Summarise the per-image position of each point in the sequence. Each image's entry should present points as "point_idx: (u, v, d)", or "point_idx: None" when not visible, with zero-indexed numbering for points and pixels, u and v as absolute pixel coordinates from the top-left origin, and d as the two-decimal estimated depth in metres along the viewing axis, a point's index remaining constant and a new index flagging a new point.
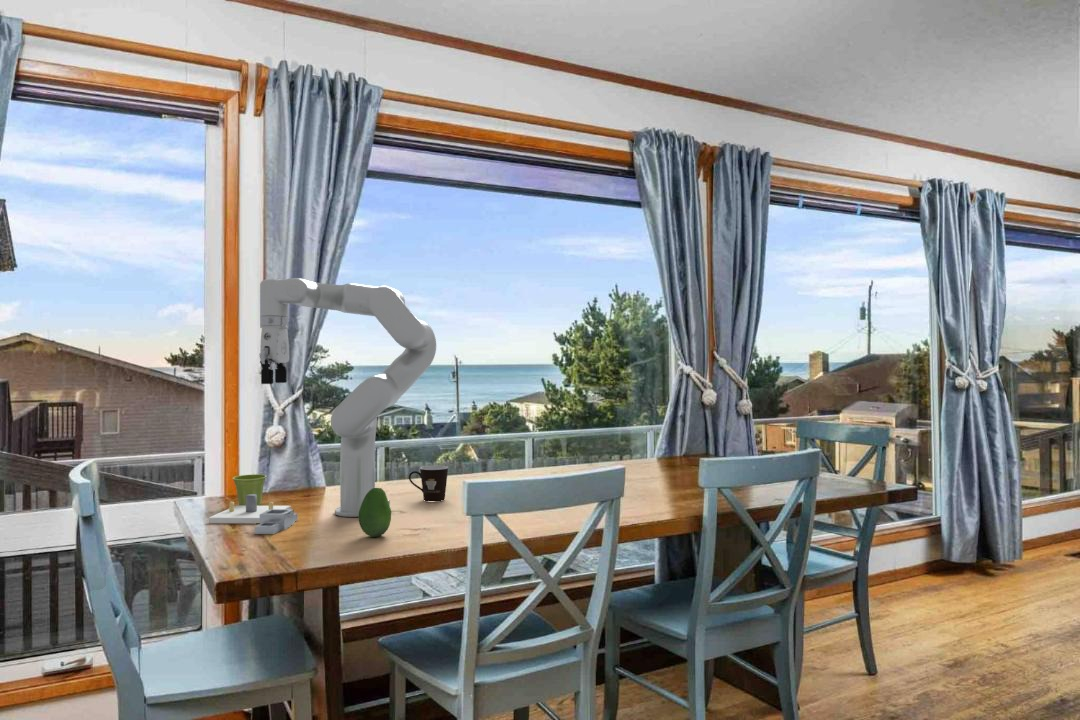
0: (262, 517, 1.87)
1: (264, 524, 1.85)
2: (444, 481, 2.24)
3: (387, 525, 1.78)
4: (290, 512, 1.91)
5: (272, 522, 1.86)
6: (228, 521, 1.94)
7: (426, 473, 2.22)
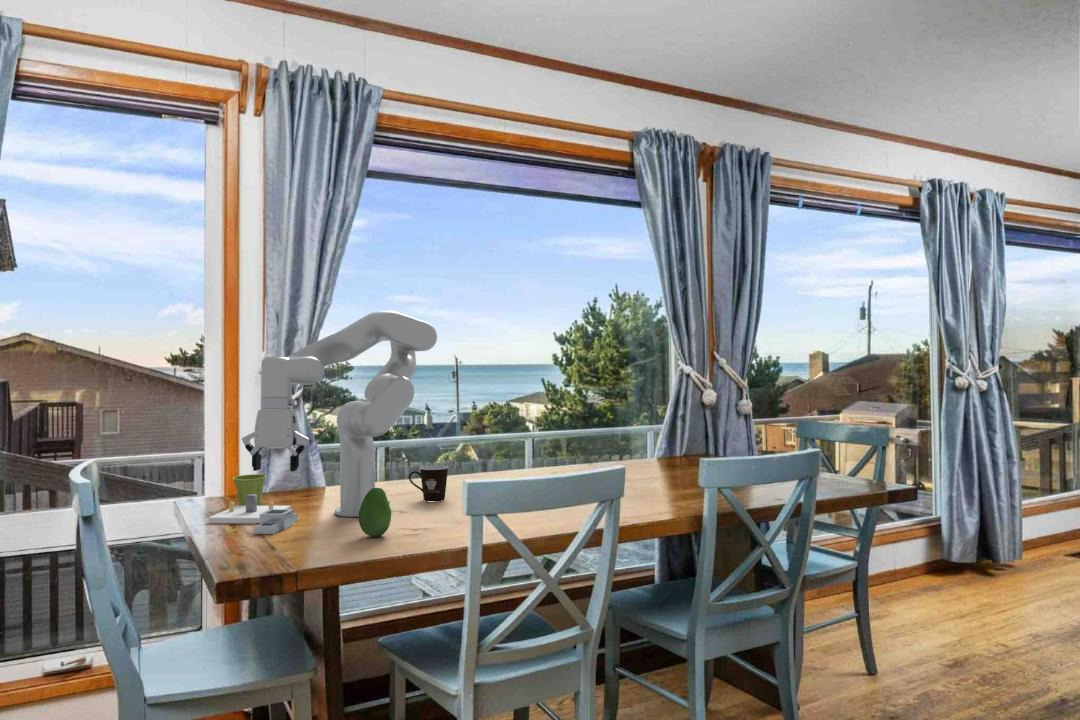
0: (262, 517, 1.87)
1: (264, 524, 1.85)
2: (444, 481, 2.24)
3: (387, 525, 1.78)
4: (290, 512, 1.91)
5: (272, 522, 1.86)
6: (228, 521, 1.94)
7: (426, 473, 2.22)
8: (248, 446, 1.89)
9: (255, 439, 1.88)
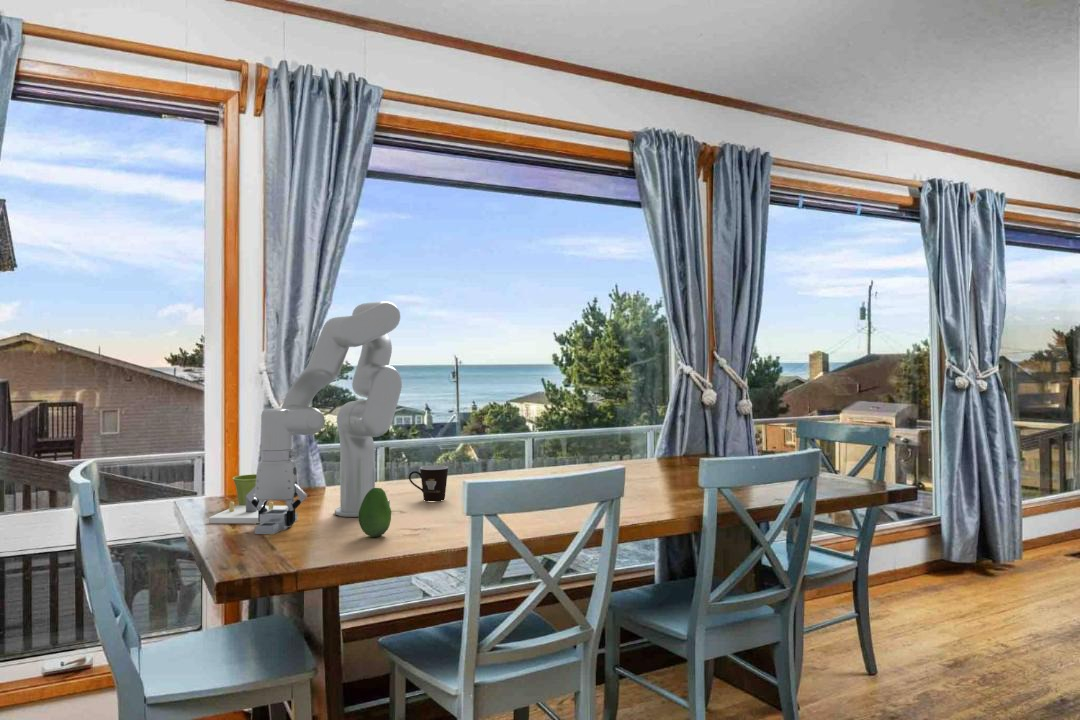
0: (262, 517, 1.87)
1: (264, 524, 1.85)
2: (444, 481, 2.24)
3: (387, 525, 1.78)
4: None
5: (272, 522, 1.86)
6: (228, 521, 1.94)
7: (426, 473, 2.22)
8: (254, 501, 1.89)
9: (256, 492, 1.88)
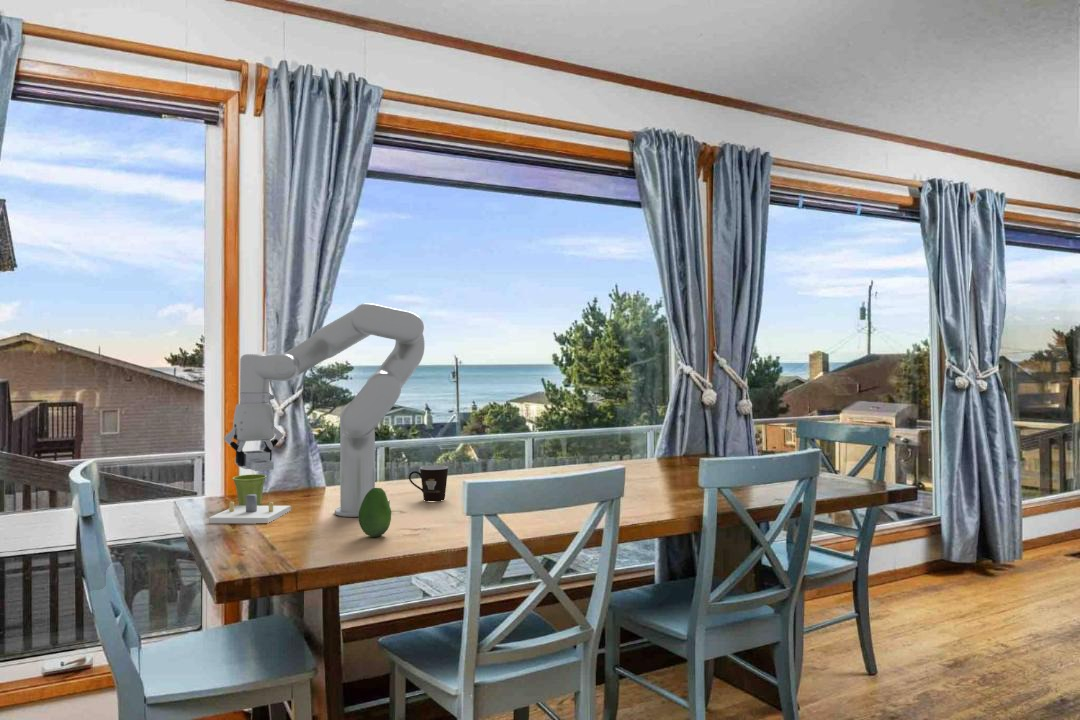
0: (248, 457, 1.96)
1: None
2: (444, 481, 2.24)
3: (387, 525, 1.78)
4: None
5: (259, 460, 1.97)
6: (228, 521, 1.94)
7: (426, 473, 2.22)
8: (234, 443, 1.96)
9: (239, 433, 1.96)
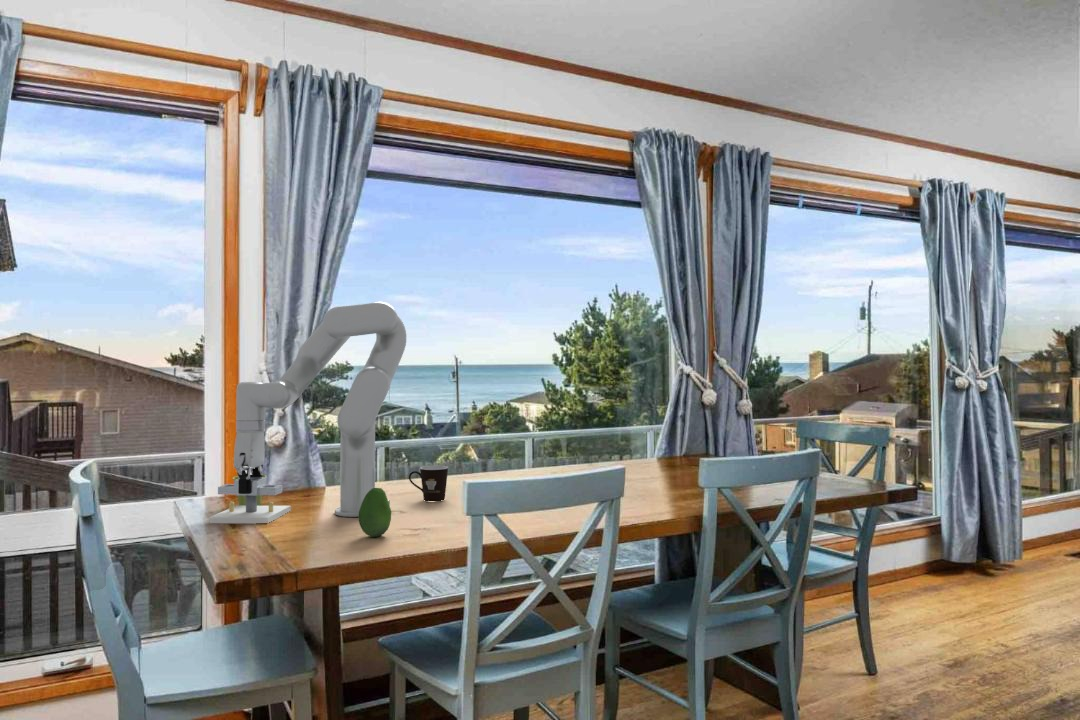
0: (258, 483, 2.00)
1: None
2: (444, 481, 2.24)
3: (387, 525, 1.78)
4: None
5: (263, 485, 2.02)
6: (228, 521, 1.94)
7: (426, 473, 2.22)
8: (245, 472, 1.97)
9: (250, 461, 1.98)
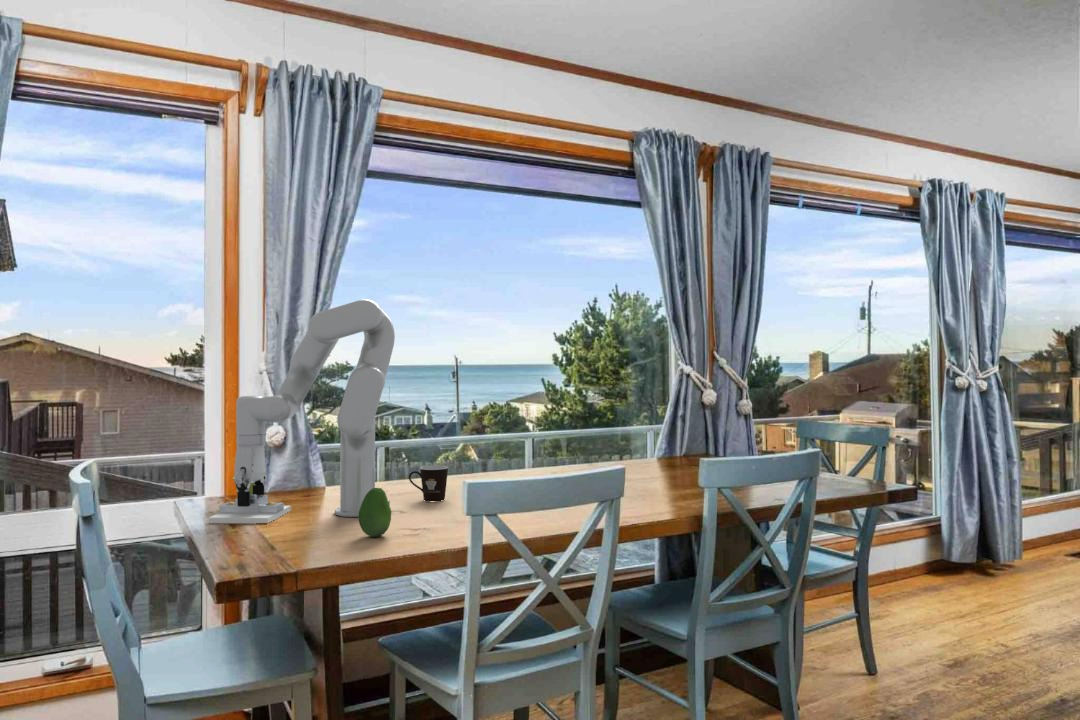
0: (259, 501, 2.00)
1: None
2: (444, 481, 2.24)
3: (387, 525, 1.78)
4: None
5: (265, 503, 2.02)
6: (228, 521, 1.94)
7: (426, 473, 2.22)
8: (243, 484, 1.96)
9: (251, 475, 1.98)
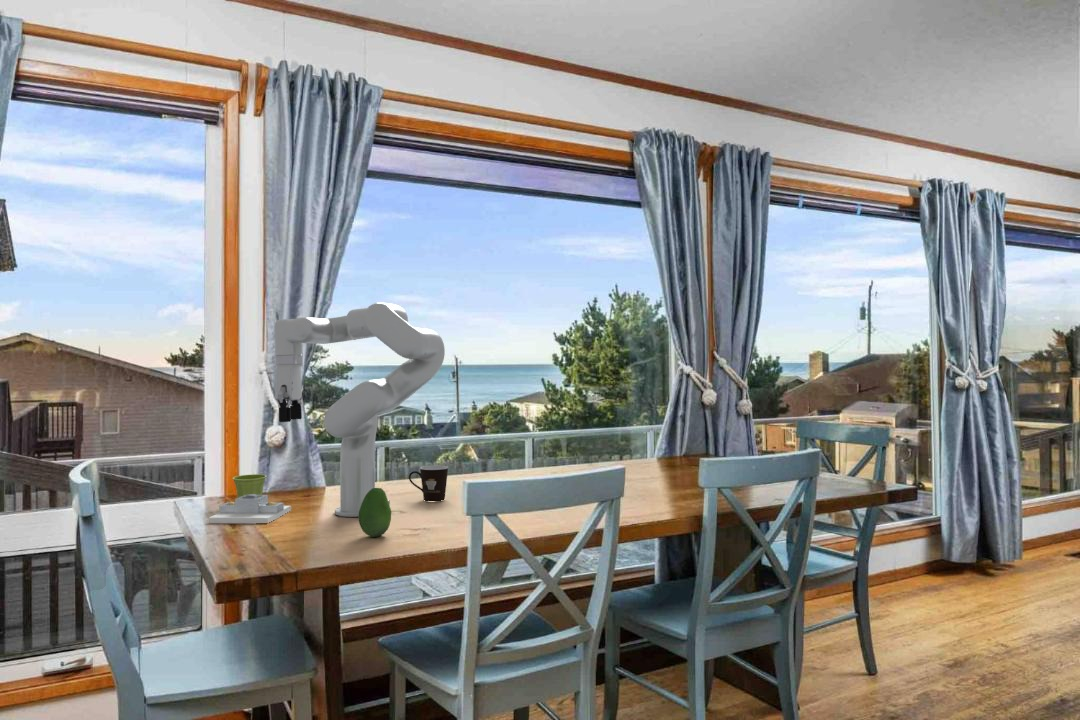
0: (259, 501, 2.00)
1: None
2: (444, 481, 2.24)
3: (387, 525, 1.78)
4: None
5: (265, 503, 2.02)
6: (228, 521, 1.94)
7: (426, 473, 2.22)
8: (285, 400, 2.06)
9: (291, 392, 2.08)
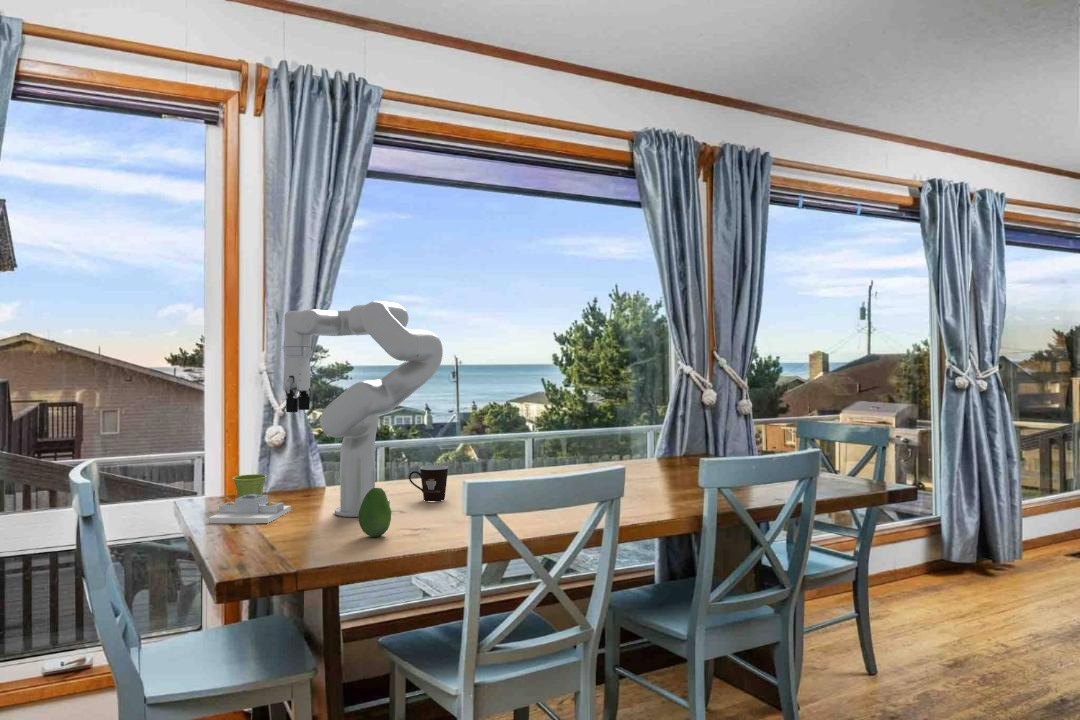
0: (259, 501, 2.00)
1: None
2: (444, 481, 2.24)
3: (387, 525, 1.78)
4: None
5: (265, 503, 2.02)
6: (228, 521, 1.94)
7: (426, 473, 2.22)
8: (292, 391, 2.09)
9: (299, 383, 2.11)
